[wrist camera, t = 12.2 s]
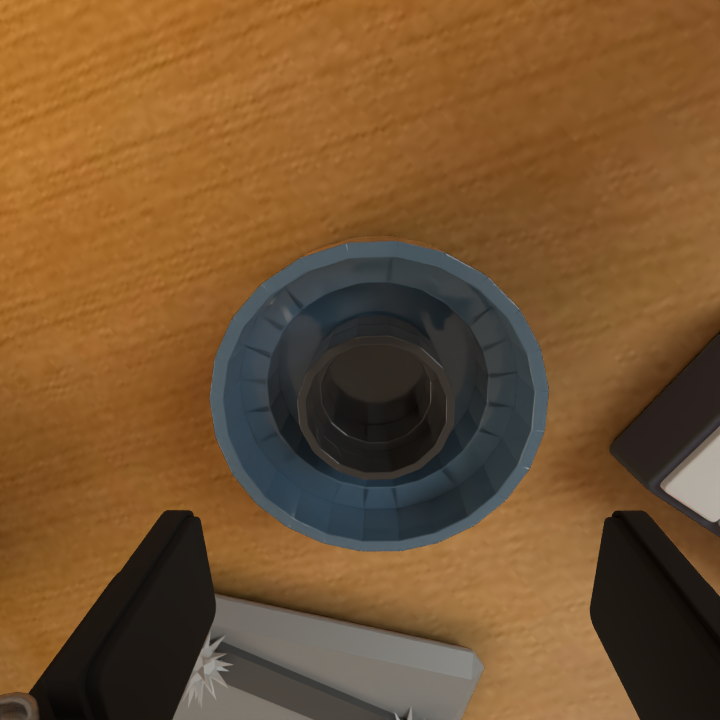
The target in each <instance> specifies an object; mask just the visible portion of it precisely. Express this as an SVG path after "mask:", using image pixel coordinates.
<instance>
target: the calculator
mask: <svg viewBox="0 0 720 720" xmlns="http://www.w3.org/2000/svg"><path fill="white" fill-rule="evenodd" d="M610 453H611V454H612V455H613V456H614V457H615V458H616V459H617V460H618V461H619V462H620V463H621V464H622V465H623V466H624V467H625V468H626V469H627V470H628V471H629V472H630V473H631V474H632V475H633V476H634V477H635V478H636V479H637V480H638V481H639V482H640V483H641V484H642V485H643V486H644V487H645V488H647V489H648V490H649V491H650V492H652V493H653V494H655V495H656V496H658V497H659V498H661V499H662V500H664V501H665V502H667V503H668V504H670V505H671V506H673V507H674V508H676V509H677V510H679V511H680V512H682V513H683V514H685V515H687V516H688V517H690V518H691V519H693V520H694V521H696V522H697V523H699V524H700V525H702V526H703V527H705V528H706V529H708V530H709V531H711V532H712V533H714V534H715V535H717V536H719V537H720V333H719V334H718V335H717V336H716V337H715V338H714V339H713V340H712V341H711V343H710V344H709V345H708V346H707V347H706V348H705V349H704V350H703V351H702V352H701V353H700V354H699V355H698V356H697V357H696V358H695V359H694V360H693V361H692V362H691V363H690V364H689V365H688V366H687V367H686V368H685V369H684V370H683V371H682V372H681V373H680V374H679V375H678V376H677V377H676V379H675V380H674V381H673V382H672V383H671V384H670V385H669V386H668V387H667V388H666V389H665V390H664V391H663V392H662V393H661V394H660V395H659V396H658V397H657V398H656V399H655V400H654V401H653V402H652V403H651V404H650V405H649V406H648V407H647V408H646V409H645V410H644V411H643V412H642V413H641V415H640V416H639V417H638V418H637V419H636V420H635V421H634V422H633V423H632V424H631V425H630V426H629V427H628V428H627V429H626V430H625V431H624V432H623V433H622V434H621V435H620V436H619V437H618V438H617V439H616V440H615V441H614V442H613V443H612V445H611V446H610Z"/></svg>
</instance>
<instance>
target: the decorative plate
mask: <svg viewBox="0 0 720 720" xmlns="http://www.w3.org/2000/svg"><path fill="white" fill-rule="evenodd" d="M214 594H215V599H216V613H215V618H214V621H213V623H212V626H211V628H210V630H209V633H208V635H207V638H206V640H205V642H204V645H203V647H202V650H201V652H200V655H199V657H198V659H197V662H196V664H195V667H194V669H193V671H192V674H191V676H190V679H189V681H188V683H187V686H186V688H185V691H184V693H183V695H182V698H181V700H180V703H179V705H178V708H177V710H176V712H175V715H174V717H173V720H461V718H462V716H463V714H464V711H465V709H466V707H467V705H468V703H469V700H470V698H471V696H472V694H473V691H474V689H475V687H476V685H477V683H478V680H479V678H480V676H481V674H482V672H483V669H484V665H483V663H482V662H481V661H480V659H479V658H478V657H477V655H476V654H475V653H474V651H473V650H471V649H469V648H466V647H463V646H459V645H454V644H449V643H445V642H440V641H435V640H431V639H426V638H421V637H417V636H412V635H407V634H403V633H398V632H394V631H389V630H384V629H380V628H375V627H370V626H366V625H361V624H356V623H352V622H347V621H343V620H338V619H333V618H329V617H324V616H319V615H315V614H310V613H305V612H301V611H296V610H291V609H287V608H282V607H278V606H273V605H268V604H264V603H259V602H254V601H250V600H245V599H240V598H236V597H231V596H227V595H222V594H217V593H214Z"/></svg>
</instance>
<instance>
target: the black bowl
mask: <svg viewBox="0 0 720 720" xmlns="http://www.w3.org/2000/svg"><path fill="white" fill-rule="evenodd" d="M297 406H298V418H299V427H300V429H301V431H302V433H303V435H304V436H305V438H306V440H307V442H308V444H309V446H310V447H311V449H312V451H313V452H314V453H315V454H316V455H317V456H318V457H320V458H321V459H322V460H323V461H325V462H326V463H327V464H328V465H329V466H331V467H332V468H333V469H334V470H336V471H339V472H341V473H344V474H347V475H350V476H353V477H356V478H359V479H362V480H363V479H364V480H391V479H395V478H398V477H401V476H403V475H406V474H409V473H411V472H414V471H417V470H419V469H421V468H422V467H423V466H424V465H426V464H427V463H428V462H429V461H430V460H431V459H432V458H433V457H435V456H436V455H437V454H438V453H439V452H440V451H441V450H442V449H443V447H444V445H445V443H446V441H447V439H448V437H449V435H450V432H451V430H452V428H453V426H454V423H455V393H454V391H453V388H452V386H451V384H450V381H449V379H448V376H447V374H446V372H445V369H444V367H443V365H442V363H441V361H440V358H439V356H438V354H437V352H436V350H435V347H434V345H433V344H432V342H431V341H430V340H429V339H428V338H427V337H426V336H425V335H424V334H423V333H422V332H421V331H420V330H419V329H417V328H416V327H415V326H414V325H412V324H411V323H408V322H405V321H403V320H400V319H397V318H394V317H392V316H389V315H388V316H387V315H374V316H361V317H357V318H354V319H352V320H350V321H348V322H346V323H343V324H341V325H339V326H337V327H336V328H334V329H333V330H332V331H331V332H330V333H329V335H328V336H327V337H326V338H325V339H324V340H323V341H322V342H321V343H320V344H319V346H318V347H317V349H316V352H315V354H314V356H313V358H312V360H311V363H310V365H309V367H308V369H307V372H306V374H305V377H304V380H303V383H302V386H301V388H300V391H299V394H298V397H297Z"/></svg>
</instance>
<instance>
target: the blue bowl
mask: <svg viewBox="0 0 720 720" xmlns="http://www.w3.org/2000/svg"><path fill="white" fill-rule="evenodd" d="M374 315H387V316H388V315H389V316H392V317H394V318H397V319H400V320H403V321H405V322H408V323H411V324H412V325H414V326H415V327H416V328H417V329H419V330H420V331H421V332H422V333H423V334H424V335H425V336H426V337H427V338H428V339H429V340H430V341H431V342H432V344H433V345H434V347H435V350H436V352H437V354H438V356H439V358H440V361H441V363H442V365H443V367H444V369H445V372H446V374H447V376H448V379H449V381H450V384H451V386H452V388H453V391H454V393H455V423H454V426H453V428H452V430H451V432H450V435H449V437H448V439H447V441H446V443H445V445H444V447H443V449H442V450H441V451H440V452H439V453H438V454H437V455H436V456H435V457H433V458H432V459H431V460H430V461H429V462H428V463H427V464H426V465H424V466H423V467H422V468H421V469H419V470H417V471H414V472H411V473H409V474H406V475H403V476H401V477H398V478H395V479H391V480H364V479H363V480H362V479H359V478H356V477H353V476H350V475H347V474H344V473H341V472H339V471H336V470H334V469H333V468H332V467H331V466H329V465H328V464H327V463H326V462H325V461H323V460H322V459H321V458H320V457H318V456H317V455H316V454H315V453H314V452H313V451H312V449H311V447H310V446H309V444H308V442H307V440H306V438H305V436H304V435H303V433H302V431H301V429H300V427H299V418H298V406H297V397H298V394H299V391H300V388H301V386H302V383H303V380H304V377H305V374H306V372H307V369H308V367H309V365H310V363H311V360H312V358H313V356H314V354H315V352H316V349H317V347H318V346H319V344H320V343H321V342H322V341H323V340H324V339H325V338H326V337H327V336H328V335H329V333H330V332H331V331H332V330H333V329H334V328H336V327H337V326H339V325H341V324H343V323H346V322H348V321H350V320H352V319H354V318H357V317H361V316H374ZM548 389H549V387H548V382H547V377H546V372H545V367H544V362H543V357H542V351H541V349H540V345H539V344H538V342H537V340H536V338H535V336H534V334H533V332H532V330H531V328H530V327H529V325H528V323H527V321H526V319H525V317H524V315H523V313H522V312H521V310H520V309H519V307H518V306H517V305H516V304H515V303H514V302H513V301H512V300H511V299H510V298H509V297H508V296H507V295H506V294H505V293H504V292H503V291H502V290H501V289H500V288H499V287H498V286H497V285H496V284H495V283H494V282H493V281H492V280H491V279H490V278H489V277H488V276H486V275H485V274H483V273H482V272H480V271H478V270H476V269H475V268H473V267H471V266H469V265H467V264H466V263H464V262H462V261H460V260H458V259H457V258H455V257H453V256H451V255H449V254H448V253H446V252H444V251H442V250H440V249H438V248H436V247H434V246H431V245H429V244H426V243H421V242H417V241H413V240H409V239H405V238H400V237H396V236H368V237H354V238H353V237H352V238H349V239H346V240H342V241H339V242H336V243H333V244H330V245H327V246H324V247H321V248H318V249H316V250H314V251H312V252H310V253H308V254H306V255H304V256H303V257H301V258H299V259H297V260H296V261H294V262H293V263H291V264H290V265H288V266H287V267H285V268H284V269H282V270H281V271H279V272H278V273H276V274H275V275H273V276H272V277H270V278H269V279H267V280H266V281H264V282H263V283H262V284H261V285H259V287H258V288H257V289H256V290H255V291H254V292H253V294H252V295H251V296H250V297H249V298H248V300H247V301H246V302H245V303H244V304H243V305H242V307H241V308H240V309H239V310H238V311H237V313H236V314H235V315H234V316H233V318H232V319H231V321H230V323H229V326H228V328H227V330H226V333H225V335H224V337H223V339H222V342H221V344H220V346H219V348H218V351H217V353H216V355H215V359H214V366H213V374H212V382H211V389H210V406H211V412H212V418H213V425H214V431H215V437H216V439H217V442H218V444H219V446H220V448H221V451H222V453H223V455H224V457H225V459H226V462H227V464H228V466H229V468H230V470H231V472H232V474H233V476H234V477H235V478H236V479H237V481H238V482H239V483H240V484H241V486H242V487H243V488H244V489H245V491H246V492H247V493H248V494H249V495H250V497H251V498H252V499H253V500H254V502H255V503H257V505H258V506H260V507H261V508H262V509H264V510H265V511H266V512H268V513H269V514H270V515H272V516H273V517H274V518H276V519H277V520H278V521H279V522H281V523H282V524H283V525H285V526H286V527H288V528H290V529H292V530H295V531H297V532H299V533H301V534H303V535H306V536H308V537H310V538H312V539H314V540H317V541H319V542H321V543H324V544H328V545H333V546H338V547H343V548H348V549H352V550H357V551H361V550H362V551H400V550H401V551H404V550H409V549H413V548H418V547H422V546H426V545H431V544H435V543H439V542H441V541H443V540H445V539H447V538H449V537H452V536H454V535H456V534H458V533H460V532H462V531H464V530H466V529H468V528H470V527H473V526H474V524H475V525H476V524H477V523H479V522H480V521H481V520H482V519H484V518H485V517H486V516H487V515H489V514H490V513H491V512H492V511H493V510H495V509H496V508H497V507H498V506H500V505H501V504H502V503H503V502H505V500H506V499H507V498H508V497H509V496H510V494H511V493H512V492H513V490H514V489H515V488H516V486H517V485H518V484H519V482H520V481H521V480H522V478H523V477H524V476H525V474H526V473H527V472H528V470H529V468H530V467H531V465H532V462H533V460H534V457H535V455H536V452H537V450H538V447H539V445H540V442H541V440H542V437H543V435H544V431H545V425H546V415H547V405H548V394H549V391H548Z"/></svg>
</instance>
